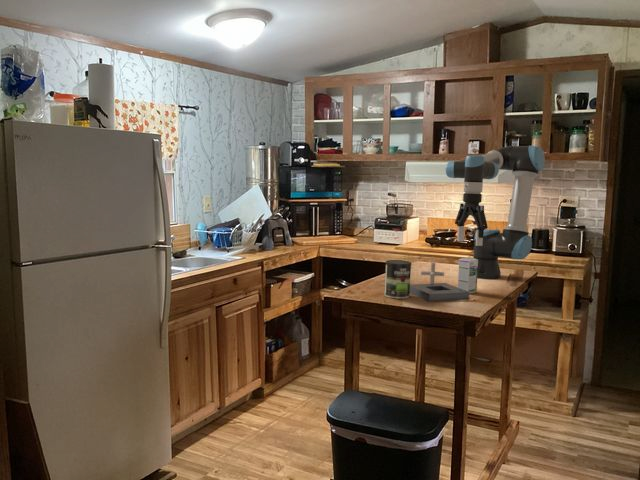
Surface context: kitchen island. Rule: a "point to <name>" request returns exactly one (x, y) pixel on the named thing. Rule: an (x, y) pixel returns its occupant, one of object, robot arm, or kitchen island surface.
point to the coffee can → (397, 279)
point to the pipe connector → (432, 273)
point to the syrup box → (468, 274)
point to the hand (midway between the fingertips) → (469, 243)
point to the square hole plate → (438, 292)
